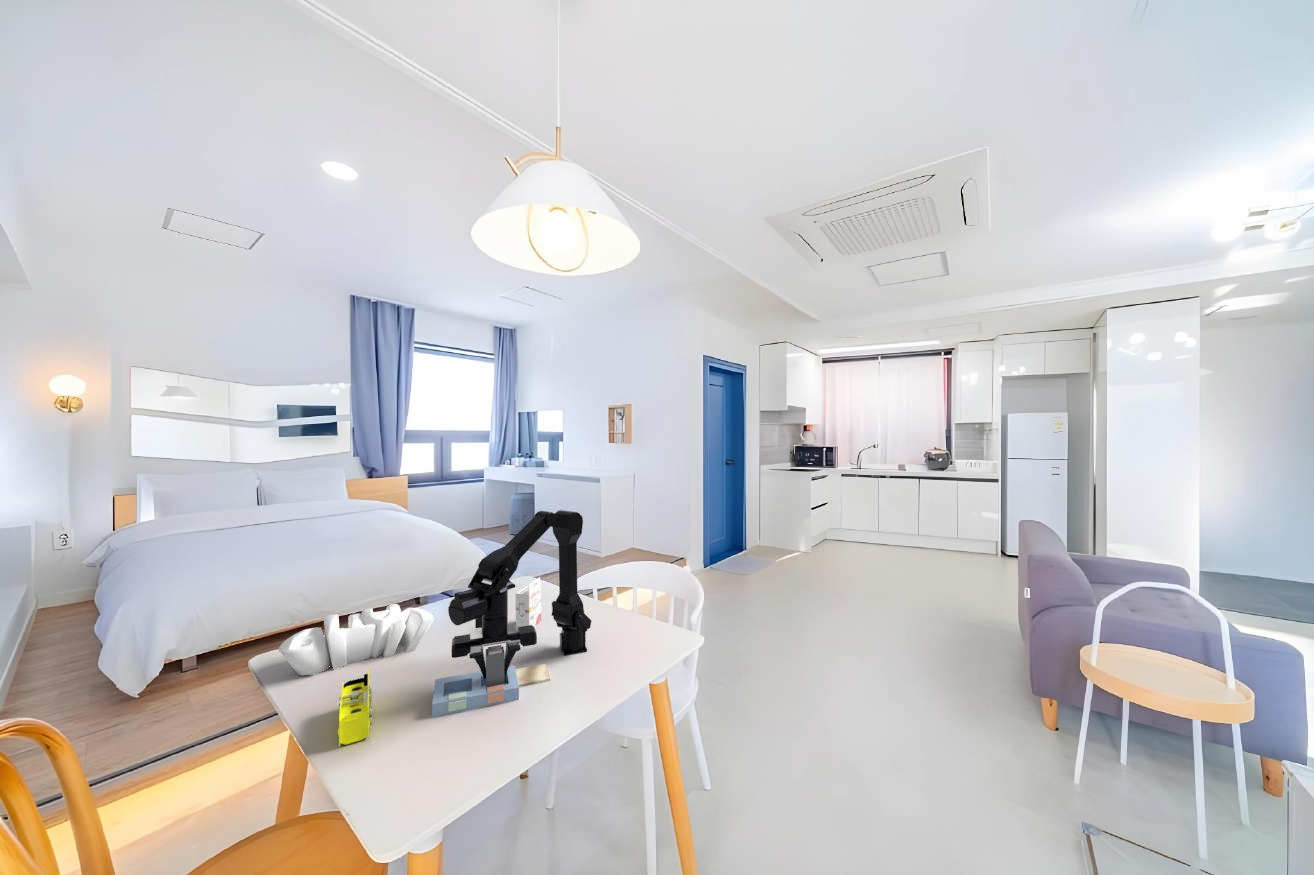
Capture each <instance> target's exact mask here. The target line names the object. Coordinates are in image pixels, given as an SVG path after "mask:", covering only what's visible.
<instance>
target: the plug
mask: <svg viewBox="0 0 1314 875" xmlns="http://www.w3.org/2000/svg"><path fill="white" fill-rule="evenodd" d="M504 659H505V648H504V646H503V645H502V644H497V645H491V646H488V647H487V648H486V649H485V667H486V688H487V687H492V686H497V685H502V684H504Z"/></svg>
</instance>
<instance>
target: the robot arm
mask: <svg viewBox="0 0 1314 875" xmlns="http://www.w3.org/2000/svg"><path fill="white" fill-rule="evenodd" d="M583 524H584V520H583V516H582V514H580V513H579V512H578V511H569V510H561V509H560V510H557V511H556V512H552V511H545V510H539V511H537V512H536V513H535V514H534V516H533V517H532V518H531V520H529V522H527V524H525V525H524V526H523V527H522V529H520V530H519V531H518V532H517V533H516V534H515V535H514V536H513V537H512V538H511V540H509V541H508V542H507V543H506V544H505V545H504V546H502V547H500V548H498V549H495V550H493V551H492V552H490V553H489V554H487V555H486V556H484V557H483V558H482V559H481V560H480V561H479V563H478V567H477V569H476V571H475V573H474V575H473V577H472V578H471V581H470V582H469V584H468V585H467V588H468V589H467V590H464V591H458V592H455V593H454V595H453V597H454V598H453V599H451V601H450V602H449V606H448V607H447V608H448V609H447V611H448V617H449V619H450V621H451V623H452V624H453V625H455V626H460V625H463V624H466V623H468V622H471V621H474V620H475V623H474V624H475V625H474V626H475V629H481V637H477V638H471V634H470V633H469V634H462V635H455V636H454V637H453V638H452V639H451V658H453V659H455V658H462V657H467V656H468V655H469V659H470V660H471V659H474V660H475V662H476V664H477V665H478V667H479V671H481V672H482V675H483V677H484V679H486V659H485V655H484V647H486V646H488V647H489V646H496V645H502V644H505V650H504V676H505V675H506V673H507V670H508V668H509V666H511V662H512V660H513V658H514V657H515V654H516V653H517V652H519V651H521V649H522V648H521V646H522V647H528V646H529V647H530V646H535V645H537V642H538V641H537V640H538V637H537V631H536V628H535V627H534V626H533V625H528V626H521V627H518V630H517V631H514V632H509V633H508V631H509V630H508V626H509V623H508V622H509V621H508V615H509V611H508V610H509V609H508V608H509V606H508V604H509V602H508V601H509V600H508V598H509V597H508V596H509V592H508V591H509V590H512V589H514V588H516V586H517V585H516V584H515V583H513V582H512V581H511V580H510V579H511V578H512V576H514V574H515V572H516V571H517V569H518V566H519V562H520V560H521V559H522V557H524V555H525V554H526V553H527V552H528V551H529V550H530V549H531V548H532V547H533V546H534V545H535V544H536V542H538V541H539V540H540V539H541V537H542V536H543V535H544V534H545V533H546V532H547V531H548V530H549V529H550V528H551V529H552V533H553V535H554V537H555V539H556V541H557V544H558V575H559V576H558V578H559V580H558V581H559V583H558V585H559V592H558V593H559V594H558V596H557V598H556V599H555V600H552V601H551V616H552V617H553V620H554V621H555V622H556V626H557V627H558V628H561V632H560V633H559V648H560V651H562V653H563V655H564V656H570V655H575V654H582V653H586V652H588V648H587V646H586V643H587V642H586V639H587V638H586V636H587V634H586V633H587V632H588V630H589V629H590V628H591V626H592V619H590V617H589V616H587V615H586V614H585V608H584V602H583V600H582V599H581V596H580V595H579V593H578V554H577V553H578V548H577V546H578V544H577V543H578V541H579V539H580V537H581V535H582V532H583V527H584V526H583ZM483 581H485V582H488V583H485V582H483ZM490 583H491V584H490Z"/></svg>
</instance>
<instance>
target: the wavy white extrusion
mask: <svg viewBox="0 0 1314 875" xmlns="http://www.w3.org/2000/svg"><path fill="white" fill-rule="evenodd" d="M347 618H348V620H347V623H348V624H347V625H348V627H345V628H344V627H341V628H340V620H339V614H338V613H337V614H335V613H334V614H329V615H325V616H324V617H323V627H324V632H323V629H322V627H318V626H317V627H311V628H306V629H303V630H301V631H299V632H296V633H294V634H293V635H291V636H290V637H288V638H287V639H285V640H284V641H283V642H282V643H281V644H280V645H279V647H278V651H279V652H280V654H281V655H282V656H283V657H284V659H285V660H286V661H287V662H288V663H289V665H290V666H291V667H292V669H293V670H294V671H295V673H296V674H297V675H299V676H301V675H311V676H314V675H313V674H315V675H318V674H320V673H319V672H321V673H323V672H322V671H323V670H325V671H327V670H328V669H327V668H329V666H330V665H331V664H332V665H331V667H333V668H332V670H333V669H336V670H338V669H337V668H339V669H342V668H344V667H343V666H345V667H346V665H347V666H348V664H352V663H351V662H353V663H357V662H356V661H358V662H361V661H365V660H364V659H366V660H368V659H369V658H370V657H376V658H378V657H380V656H381V655H382V657H383V656H384V657H383V658H388V656H390V657H392V656H395V653H396V650H397V648H398V646H399V644H401V645H402V646H403V647H404V650H405V651H404V652H405V653H410V652H413V651H415V650H416V649H417V647H418V646H419V644H420V642H421V641H422V639H423V638H424V636H425V635H426V633H427V631H428V630H429V628H430V627H431V625H432V623H433V622H434V620H435V619H434V616H433V614H432V613H430V612H429V611H427V610H425V609H422V608H417V607H407V608H405V609H403V610H401V606H400V605H399V604H398V603H392V604H388V605H387V606H386V609H385V610H380V611H379V610H378V611H373V608H371V607H369V608H365V609H363V610H362V611H361V613H353V614H349V616H348V617H347ZM382 653H383V654H382ZM380 654H381V655H380ZM379 655H380V656H379ZM377 656H378V657H377ZM370 659H371V658H370ZM347 663H348V664H347ZM341 667H342V668H341ZM326 669H327V670H326ZM329 669H330V668H329ZM317 673H318V674H317Z"/></svg>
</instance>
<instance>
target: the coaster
mask: <svg viewBox="0 0 1314 875" xmlns="http://www.w3.org/2000/svg"><path fill="white" fill-rule="evenodd" d="M515 670H516V675H517V680H518V685H519V688H521V687H526V686H532V685H537V684H542V683H546V682H550V681H551V676H550V673H549V671H548V667H547V665H546V663H542V664H536V665H532V666H531V665H530V666H526V667H525V666H524V667H520V668H515Z"/></svg>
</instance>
